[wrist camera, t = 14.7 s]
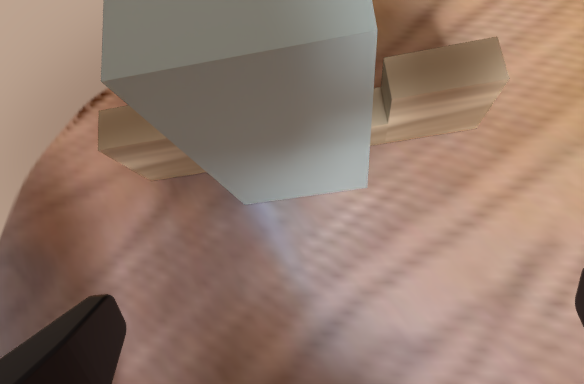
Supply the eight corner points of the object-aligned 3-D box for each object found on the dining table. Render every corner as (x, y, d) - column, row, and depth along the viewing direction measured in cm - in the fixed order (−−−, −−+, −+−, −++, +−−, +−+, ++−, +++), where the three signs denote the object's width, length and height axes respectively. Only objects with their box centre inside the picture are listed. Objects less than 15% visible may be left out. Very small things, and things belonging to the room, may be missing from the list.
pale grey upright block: (367, 187, 21) (377, 29, 9) (244, 204, 22) (100, 81, 10) (351, 86, 23) (341, -165, 11) (237, 105, 24) (106, -107, 12)
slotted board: (476, 128, 21) (509, 78, 17) (150, 181, 24) (97, 150, 19) (467, 94, 22) (497, 36, 17) (150, 148, 24) (98, 110, 19)
